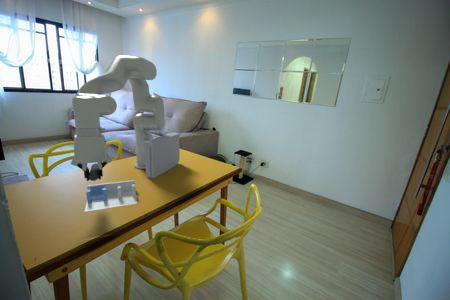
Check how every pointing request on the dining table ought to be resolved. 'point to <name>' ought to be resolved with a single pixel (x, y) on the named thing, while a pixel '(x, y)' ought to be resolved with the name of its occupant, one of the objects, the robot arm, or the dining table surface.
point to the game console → (162, 154)
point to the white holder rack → (110, 195)
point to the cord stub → (93, 172)
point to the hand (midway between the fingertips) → (94, 178)
